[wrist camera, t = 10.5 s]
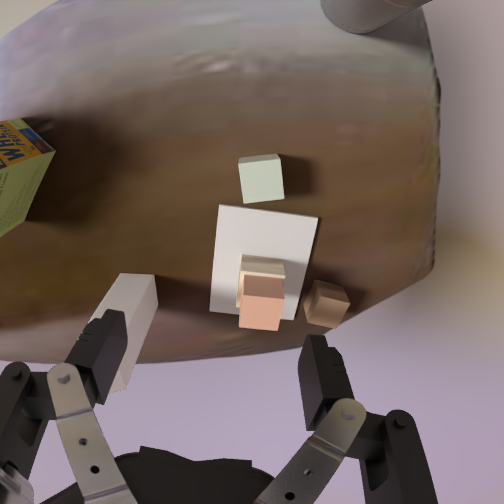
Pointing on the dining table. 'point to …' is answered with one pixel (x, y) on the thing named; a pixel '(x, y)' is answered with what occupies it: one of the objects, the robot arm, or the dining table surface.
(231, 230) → the mat
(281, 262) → the birch block
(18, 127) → the protein box
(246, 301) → the terracotta block
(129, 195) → the dining table surface
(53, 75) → the dining table surface
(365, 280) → the dining table surface
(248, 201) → the sage block
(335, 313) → the walnut block
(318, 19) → the dining table surface
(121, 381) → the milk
